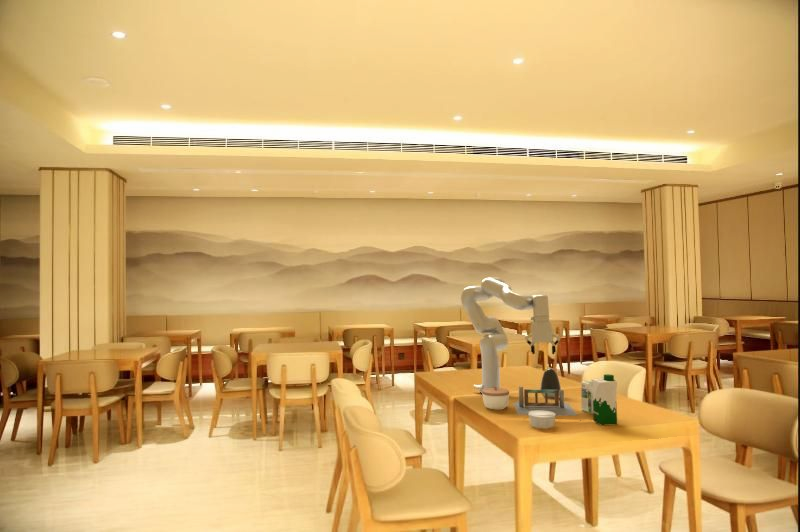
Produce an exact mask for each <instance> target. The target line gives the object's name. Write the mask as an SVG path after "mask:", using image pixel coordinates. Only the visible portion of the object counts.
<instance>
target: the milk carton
mask: <svg viewBox="0 0 800 532" xmlns="http://www.w3.org/2000/svg"><path fill="white" fill-rule="evenodd" d="M591 381H592V387H593V413H592V414H593V421H594V422H595V421H596V422H595V423H597V424H598V425H600V424H601V426H605V425H604V424H615V425H618V409H617V406H618V404H617V388H618V381H616V379H615V375H613V374H603V378H592V379H591Z"/></svg>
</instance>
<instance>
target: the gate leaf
mask: <svg viewBox="0 0 800 532" xmlns="http://www.w3.org/2000/svg"><path fill="white" fill-rule="evenodd" d="M542 393H545V397H544V402H539V400H538V394H542ZM548 393H555V398H554V402H548V401H549V400H548V399H549V398H548ZM529 394H534V400H535V401H534V402H532V401H531V402H529ZM523 401H524V404H525V406H556V407H559V403H560V396H559V390H540V389H528V388H527V389H525V388H523ZM538 402H539V403H538Z"/></svg>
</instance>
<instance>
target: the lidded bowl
mask: <svg viewBox="0 0 800 532" xmlns="http://www.w3.org/2000/svg"><path fill="white" fill-rule="evenodd" d="M509 400H510V390H509V389H506V388H502V387H500V388H497V386H494V388H486V389H483V390H482V401H483V404H484V406H485V408H487V409H489V410H498V411H499V410H503V409H506V408H507V406H508V405H509Z"/></svg>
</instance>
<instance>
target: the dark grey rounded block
mask: <svg viewBox="0 0 800 532" xmlns="http://www.w3.org/2000/svg"><path fill="white" fill-rule="evenodd" d="M539 388H540V389H539V390H562V389H561V382H560V379H559V377H558V374H557V372H556V370H555V369H553V368H552V367H549V368H547V369H545V371H544V372H543V374H542V377H541V382H540V387H539ZM541 395H542V396H543V397H544V398H545V393H541ZM552 398H553V399H555V393H548V399H552Z"/></svg>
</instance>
